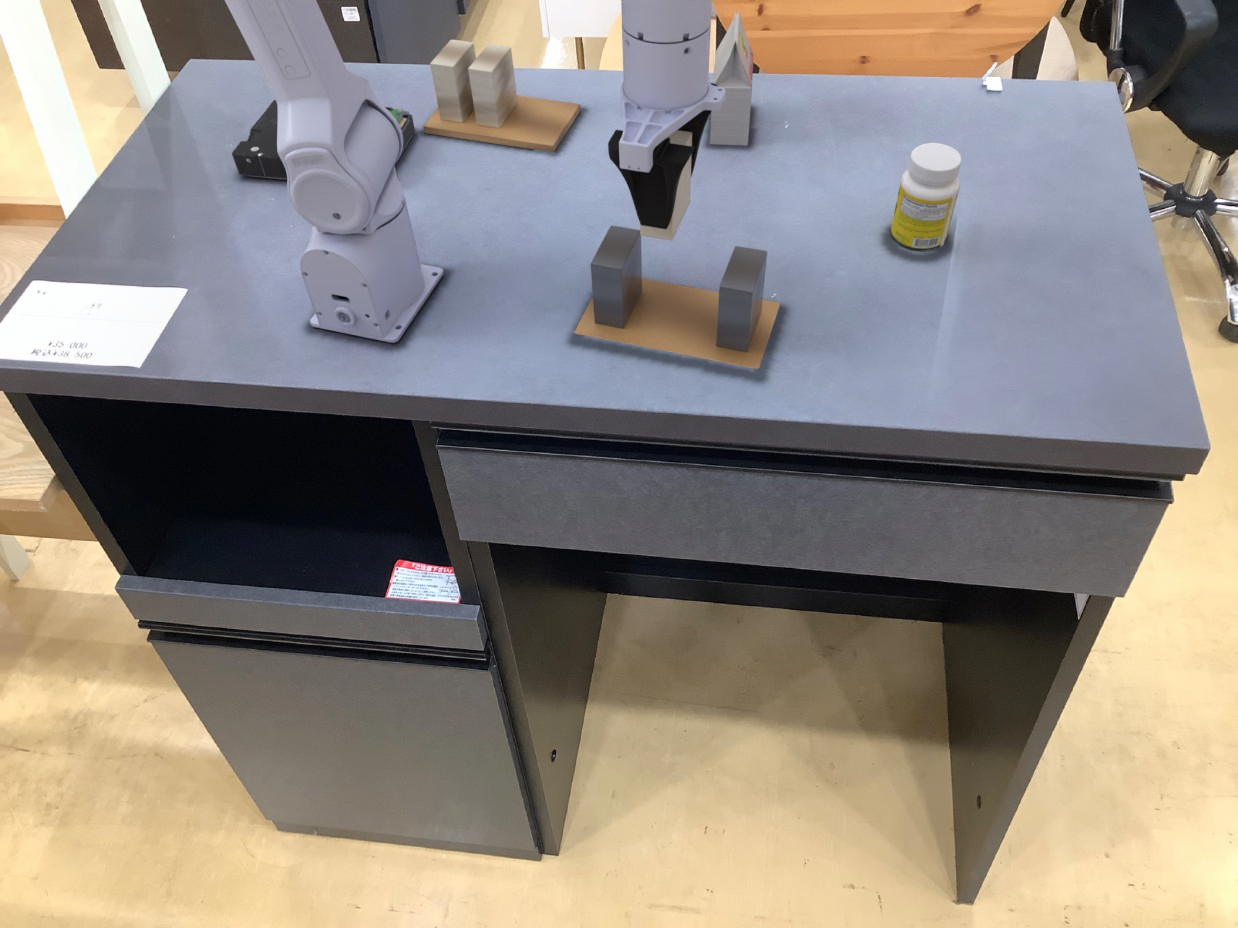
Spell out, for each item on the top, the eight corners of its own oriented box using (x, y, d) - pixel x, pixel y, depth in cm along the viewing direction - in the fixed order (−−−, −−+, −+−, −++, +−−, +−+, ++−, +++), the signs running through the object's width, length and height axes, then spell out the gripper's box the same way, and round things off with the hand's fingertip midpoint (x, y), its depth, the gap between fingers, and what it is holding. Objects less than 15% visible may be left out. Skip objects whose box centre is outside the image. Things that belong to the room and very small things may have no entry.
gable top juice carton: (709, 144, 96) (714, 45, 89) (713, 108, 101) (717, 10, 93) (747, 145, 96) (755, 46, 89) (749, 109, 100) (756, 11, 93)
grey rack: (758, 376, 75) (765, 308, 70) (574, 340, 79) (567, 272, 74) (779, 310, 80) (787, 241, 75) (605, 278, 84) (601, 211, 78)
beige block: (672, 241, 73) (673, 170, 68) (640, 235, 73) (638, 164, 69) (690, 202, 76) (692, 132, 71) (659, 197, 76) (659, 127, 72)
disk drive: (239, 180, 95) (384, 189, 93) (229, 155, 93) (377, 163, 91) (280, 123, 102) (417, 130, 100) (272, 98, 100) (411, 105, 98)
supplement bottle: (909, 218, 88) (929, 133, 81) (955, 240, 85) (979, 154, 79) (877, 242, 86) (894, 157, 79) (923, 266, 83) (945, 180, 77)
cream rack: (553, 153, 96) (547, 87, 91) (424, 133, 100) (411, 69, 94) (580, 111, 101) (576, 47, 96) (456, 93, 104) (445, 30, 99)
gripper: (697, 87, 58) (691, 271, 68) (753, -20, 67) (740, 158, 77) (583, 72, 59) (595, 254, 70) (653, -30, 68) (654, 145, 78)
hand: (665, 203), depth 73 cm, fingers closed on beige block, 5 cm apart
